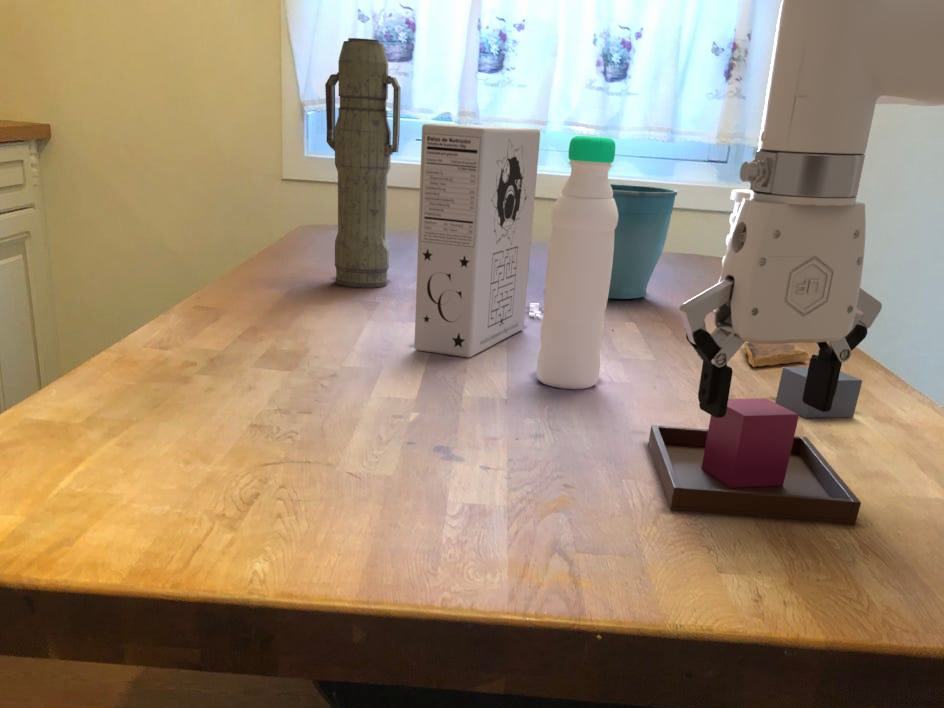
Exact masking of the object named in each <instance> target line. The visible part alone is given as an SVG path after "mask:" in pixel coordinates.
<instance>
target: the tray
mask: <svg viewBox="0 0 944 708" xmlns="http://www.w3.org/2000/svg"><path fill="white" fill-rule="evenodd" d="M708 429H709V428H708ZM708 429H707V428H693V427H681V426H669V425H657V424H655V425H654V424H652V425H650V429H649V430H650V431H649V438H648V443H647V445H648V449H649V451H650V454H651V457H652V460H653V463H654V466H655V469H656V473H657V476H658V479H659V481H660V485H661V488H662V490H663V493H664V497H665V499H666V500H665V501H666V503H667V505H668V508H669V511H671V512H672V511H673V512H683V513H694V514H695V513H697V514H708V515H719V516H720V515H721V516H734V517H745V518H758V519H770V520H773V519H774V520H784V521H796V522H797V521H798V522H807V523H820V524H821V523H822V524H834V525H848V526H856V525H857V519H858V516H859V512H860V508H861V505H862V502H861V501H860V499H859V498H858V497H857V495H856V494H855V493H854V492H853V491H852V490H851V488H850V487H849V485H847V484H846V482H845V481H844V480H843V479H842V478H841V477H840V475H839V474H838V473H837V472H836V470H834V468H833V467H832V466H831V465H830V463H829V462H828V461H827V460H826V458H825V457H824V456H823V454H821V453H820V451H819V450H818V449H817V448H816V446H815V445H814V444H813V443H812V442H811V440H810V439H809V438H808V437H807V436H798V435H794V440H793V444H792V449H791V453H790V457H789V462H788V466H787V471H786V475H785V480H784V484H783V485H782V486H760V487H738V488H730V487H729V486H727V485H726V484H724V483H723V482H721V481H720V480H718V479H717V478H715V477H714V476H712V475H711V474H709V473H708V472H706V471H705V470H703V469H702V462H703V456H704V451H705V445H706V440H707V434H708Z"/></svg>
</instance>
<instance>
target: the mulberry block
mask: <svg viewBox="0 0 944 708" xmlns="http://www.w3.org/2000/svg"><path fill="white" fill-rule="evenodd" d="M799 417H800V415H799V414H797V413H795V412H793V411H790V410H788V409H786V408H784V407H782V406H780V405H778V404H776V403H775V401H772V400H770V399H768V398H765V397H763V398H761V397H759V398H757V397H756V398H755V397H754V398H728V404H727V410H726V415H725V416H724V417H722V418H715V417H714V416H712V415H710V418H709V423H708V434H707V440H706V445H705V451H704V456H703V462H702V469H703V470H705V471H706V472H708V473H709V474H711V475H712V476H714V477H715V478H717V479H718V480H720V481H721V482H723V483H724V484H726V485H727V486H729V487H730V488H738V487H760V486H782V485H783V484H784V480H785V475H786V471H787V466H788V462H789V457H790V453H791V449H792V444H793V440H794V436H796V430H797V425H798V421H799Z"/></svg>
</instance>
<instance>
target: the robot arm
mask: <svg viewBox="0 0 944 708" xmlns="http://www.w3.org/2000/svg"><path fill="white" fill-rule="evenodd" d="M779 7H780V8H779V12H778V18H777V23H776V31H775V36H774V44H773V49H772V56H771V64H770V70H769V76H768V83H767V88H766V96H765V103H764V107H763V108H764V109H763V115H762V120H761V121H762V122H761V129H760V134H759V141H758V150H757V151H755V153H754V159H753V160H752V161H744V162H743V163H742V164H741V166H740V170H739V178H740V181H741V182H743V183H750V186H749V190H752V191H751V197H750V198H744V199H743V201H742V204H741V206H740V209H739V212H738V214H737V217H736V220H735V223H734V226H733V229H732V233H731V236H730V240H729V243H728V247H727V246H726V250H727V251H725V254H724V256H725V259H724V264H723V266H722V269H721V273H720V277H719V279H720V283H719V282H718V283H716V284H715V285H713V286H711V287H709V288H708V289H706V290H704V291H703V292H701V293H699V294H698V295H696V296H694V297H692V298H691V299H688V300H687V301H685V302H684V303H682V304H681V305H680V306H679V308H678V313H679V316H680V319H681V323H682V325H683V327H684V331H685V332H686V334H685V337H686V340H687V342H688V343H689V344H690V346H691V347H692V348H693V349H694V351H695V352H696V354H697V357H698V359H700V360H701V361H702V365H701V372H700V378H699V385H698V392H697V393H698V394H697V398H698V402H699V403H698V404H699V405H698V407H699V410H701V411H703V412H704V413H707V414H708V415H710V416H711V415H712V416H714V417H715V418H722V417H724V416H725V415H726V410H727V404H728V399H730V398H729V397H730V390H731V385H732V378H733V372H734V371H733V368H732V367H731V366H729V365H728V363H729V361H730V360H731V359H732V358H733V357H734V355H736V353H737V352H738V351H739V349H741V348H742V346H744V345H745V343H753V344H785V343H788V344H809V343H813V344H814V345H815V348H816V349H817V351H818V353H816V354H815V353H814V354H812V355H811V357H810V359H809V363H808V367H809V368H808V373H807V378H806V383H805V388H804V393H803V399H802V400H803V402H804V403H805V404H807V405H809V406H811V407H813V408H815V409H818V410H820V411H822V412H828V411H830V410H831V407H832V402H833V398H834V395H835V393H836V388H837V383H838V379H839V374H840V371H841V368H842V364H843V363H846V362H848V361H849V360H850V358H851V357H852V352H853V350H854V349H855V348H857V347H858V346H859V345H860V344H861V343H862V342H863V341H864V340H865V339H866V337H867V335H868V329H870V328H871V326H872V325H873V323H874V322H875V320H876V318H877V317H878V316H879V314H880V313H881V311H882V309H883V305H882V302H880V301H879V300H878V299H876V298H875V297H874V296H873V295H872V294H869V293H868V292H867V291H866V290H864V289H863V288H861V284H862V283H861V282H862V273H863V269H864V258H865V249H866V248H865V247H866V227H867V226H866V223H867V222H866V203H864V202H860V201H857V198H858V197H857V196H858V193H859V187H860V182H861V179H862V173H863V167H864V164H865V159H866V158H865V157H866V152H867V146H868V143H869V138H870V134H871V133H870V132H871V128H872V124H873V123H872V122H873V118H874V114H875V109H876V105H907V106H915V107H916V106H919V107H923V106H924V107H941V106H944V0H782V1H781V3H780V6H779ZM713 310H715V312H714V325H715V328H714V330H713V331H712V332H711V333H710V332H709V331H707V327H706V326H707V324H706V317H707V315H709V314H711V312H713Z"/></svg>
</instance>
